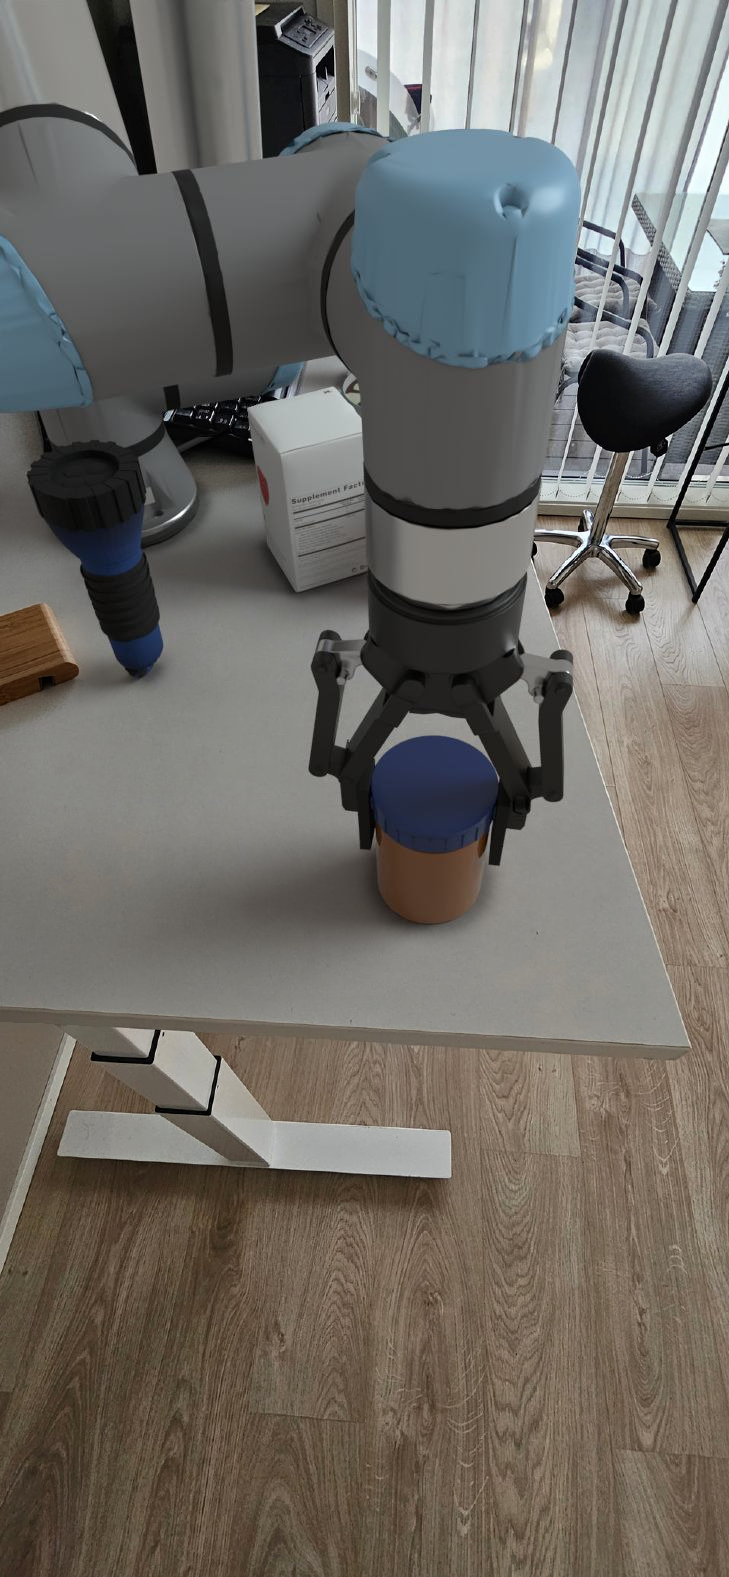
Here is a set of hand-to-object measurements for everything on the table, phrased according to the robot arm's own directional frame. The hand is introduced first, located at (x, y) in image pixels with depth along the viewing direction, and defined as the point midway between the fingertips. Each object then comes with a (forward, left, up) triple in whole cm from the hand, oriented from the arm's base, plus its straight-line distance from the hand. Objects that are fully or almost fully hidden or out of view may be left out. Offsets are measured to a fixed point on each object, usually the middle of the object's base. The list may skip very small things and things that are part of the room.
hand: (431, 840), depth 56 cm
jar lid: (0, 0, +6) cm, 6 cm away
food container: (-54, -8, -5) cm, 55 cm away
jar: (0, 0, -5) cm, 5 cm away
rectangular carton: (-38, -12, -5) cm, 40 cm away
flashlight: (-21, -26, -5) cm, 34 cm away
